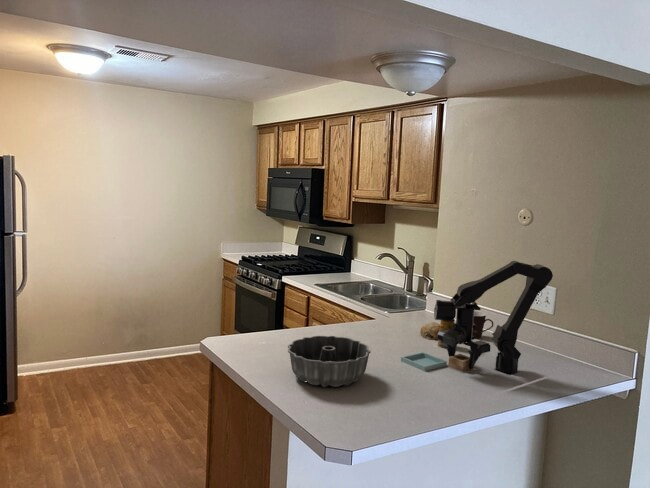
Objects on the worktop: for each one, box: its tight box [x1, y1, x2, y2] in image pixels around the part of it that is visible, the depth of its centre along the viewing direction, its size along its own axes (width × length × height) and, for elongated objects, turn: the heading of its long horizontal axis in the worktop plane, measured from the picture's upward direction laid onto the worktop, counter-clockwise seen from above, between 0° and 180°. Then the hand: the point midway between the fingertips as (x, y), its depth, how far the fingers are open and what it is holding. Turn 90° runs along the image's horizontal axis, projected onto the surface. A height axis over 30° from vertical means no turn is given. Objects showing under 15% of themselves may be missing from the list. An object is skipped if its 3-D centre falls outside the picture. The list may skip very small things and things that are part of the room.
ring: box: [447, 353, 475, 372], centre depth 180 cm, size 6×6×4 cm
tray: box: [400, 351, 448, 372], centre depth 183 cm, size 11×11×2 cm
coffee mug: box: [472, 310, 494, 340], centre depth 219 cm, size 12×9×10 cm
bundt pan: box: [287, 335, 371, 388], centre depth 166 cm, size 26×26×10 cm
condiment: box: [432, 318, 456, 350], centre depth 202 cm, size 7×8×12 cm
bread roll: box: [419, 321, 440, 341], centre depth 218 cm, size 10×10×8 cm
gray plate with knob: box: [444, 364, 478, 374], centre depth 180 cm, size 8×8×3 cm
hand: (461, 365), depth 180 cm, fingers open, 8 cm apart
